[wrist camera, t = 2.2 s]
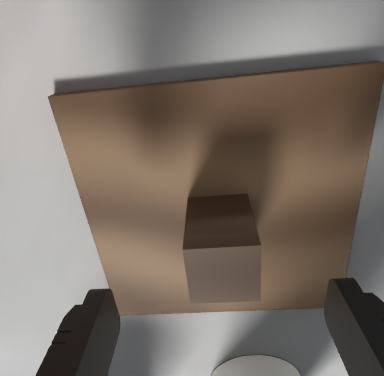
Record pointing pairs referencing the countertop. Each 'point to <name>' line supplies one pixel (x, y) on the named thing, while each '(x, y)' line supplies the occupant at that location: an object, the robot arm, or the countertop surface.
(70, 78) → the countertop surface
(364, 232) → the countertop surface
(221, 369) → the cylindrical container
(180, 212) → the walnut lid
